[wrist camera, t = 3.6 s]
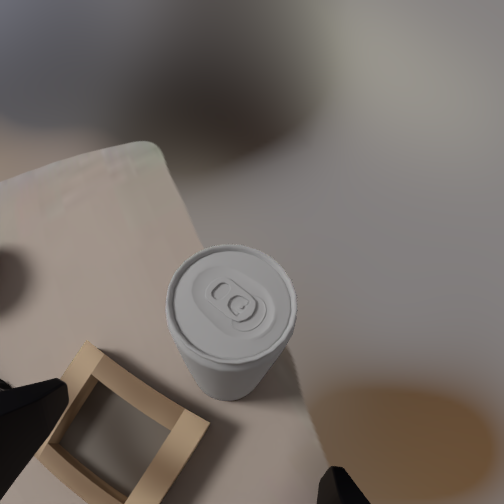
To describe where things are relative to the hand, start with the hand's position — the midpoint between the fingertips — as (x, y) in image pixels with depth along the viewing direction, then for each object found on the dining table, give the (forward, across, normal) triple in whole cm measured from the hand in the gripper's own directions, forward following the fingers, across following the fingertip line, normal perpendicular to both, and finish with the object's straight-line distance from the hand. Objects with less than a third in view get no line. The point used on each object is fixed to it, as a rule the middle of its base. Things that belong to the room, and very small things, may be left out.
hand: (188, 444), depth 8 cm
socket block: (+6, +6, +10) cm, 13 cm away
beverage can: (+12, 0, +5) cm, 13 cm away
